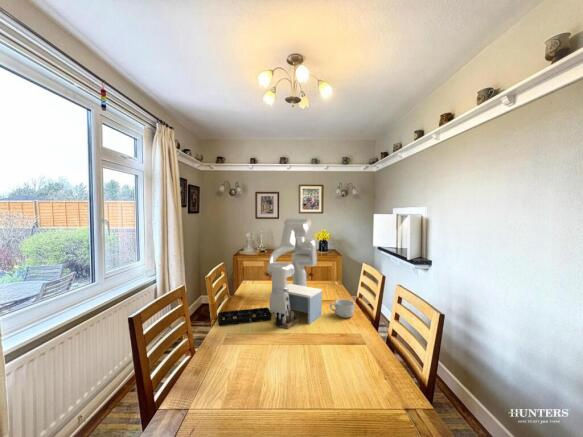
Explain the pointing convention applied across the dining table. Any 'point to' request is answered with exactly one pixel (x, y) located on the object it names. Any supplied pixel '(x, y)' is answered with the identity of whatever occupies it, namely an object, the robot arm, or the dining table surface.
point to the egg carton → (244, 316)
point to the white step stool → (306, 300)
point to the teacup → (343, 308)
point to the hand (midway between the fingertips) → (279, 325)
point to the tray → (289, 320)
